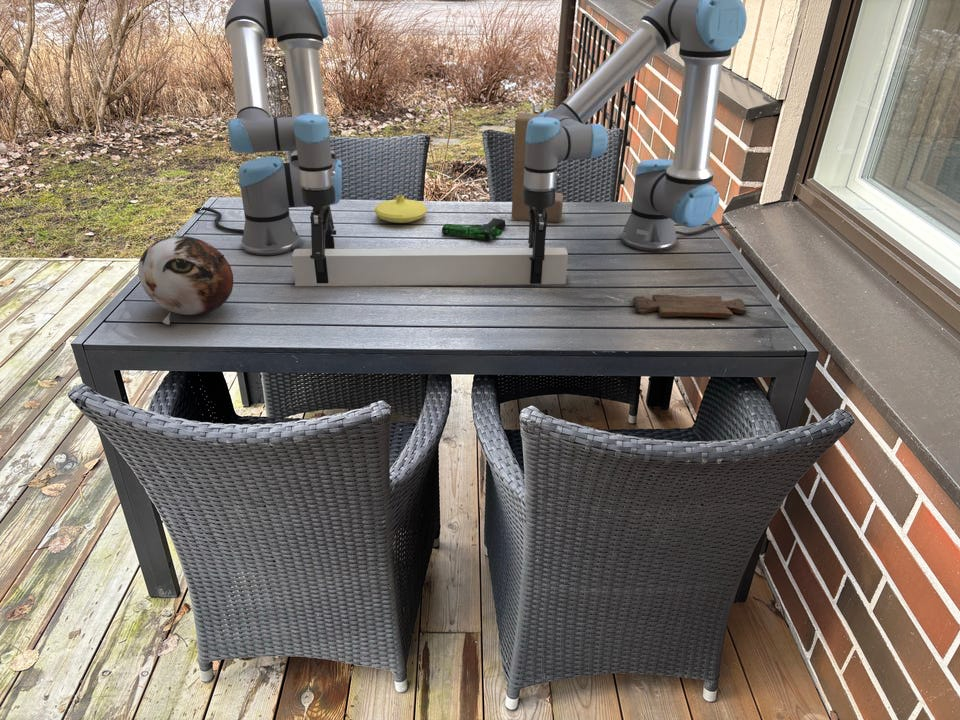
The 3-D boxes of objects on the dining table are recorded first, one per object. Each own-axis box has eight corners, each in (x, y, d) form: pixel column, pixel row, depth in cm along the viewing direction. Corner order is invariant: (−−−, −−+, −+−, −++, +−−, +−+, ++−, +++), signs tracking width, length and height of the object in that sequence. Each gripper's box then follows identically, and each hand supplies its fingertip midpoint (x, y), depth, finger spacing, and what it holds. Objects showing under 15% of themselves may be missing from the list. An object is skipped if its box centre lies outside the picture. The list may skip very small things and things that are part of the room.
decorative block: (560, 223, 215) (568, 120, 200) (511, 220, 217) (515, 118, 201) (561, 214, 221) (569, 114, 206) (513, 212, 223) (517, 112, 208)
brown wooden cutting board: (751, 321, 162) (739, 301, 171) (753, 314, 161) (740, 295, 170) (638, 317, 162) (631, 298, 171) (639, 310, 162) (632, 291, 170)
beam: (295, 286, 174) (291, 256, 170) (298, 278, 178) (294, 248, 174) (565, 284, 178) (568, 254, 174) (562, 276, 182) (565, 247, 178)
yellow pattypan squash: (398, 206, 226) (397, 184, 222) (437, 217, 218) (437, 194, 214) (364, 220, 215) (362, 197, 211) (403, 231, 207) (402, 208, 203)
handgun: (511, 219, 210) (493, 234, 198) (511, 228, 211) (492, 244, 199) (461, 212, 215) (440, 226, 203) (461, 221, 217) (440, 236, 204)
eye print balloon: (100, 300, 154) (135, 215, 156) (167, 323, 170) (198, 245, 171) (166, 325, 144) (203, 233, 145) (230, 347, 159) (263, 264, 161)
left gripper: (326, 203, 154) (335, 292, 165) (340, 171, 175) (347, 252, 186) (291, 203, 153) (302, 293, 164) (309, 171, 175) (318, 252, 186)
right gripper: (561, 199, 160) (554, 293, 172) (550, 176, 175) (544, 264, 187) (527, 199, 159) (523, 294, 171) (520, 176, 174) (516, 264, 186)
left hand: (326, 271), depth 175 cm, fingers open, 13 cm apart
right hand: (534, 278), depth 179 cm, fingers closed on beam, 5 cm apart
